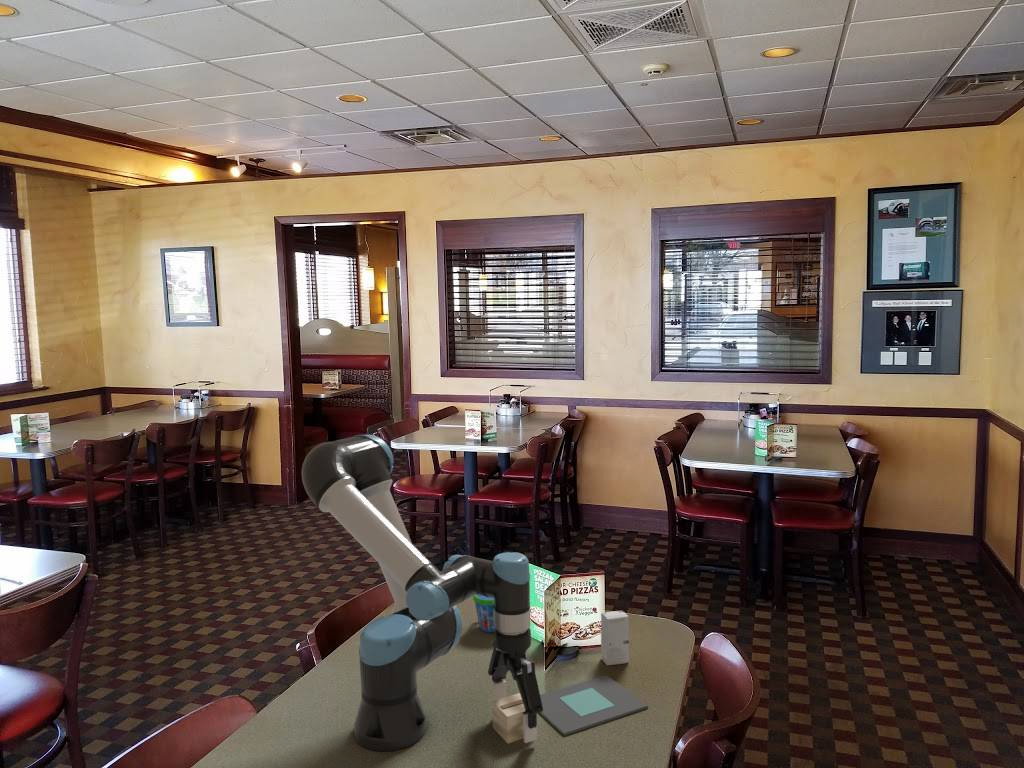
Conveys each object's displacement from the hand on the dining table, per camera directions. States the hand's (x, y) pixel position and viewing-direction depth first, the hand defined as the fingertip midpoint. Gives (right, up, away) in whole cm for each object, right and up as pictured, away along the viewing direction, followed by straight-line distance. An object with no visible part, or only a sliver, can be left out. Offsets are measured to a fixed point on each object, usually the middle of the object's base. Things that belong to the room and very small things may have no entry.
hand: (514, 725), depth 159 cm
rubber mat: (+16, 0, +10) cm, 19 cm away
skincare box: (+25, +2, +31) cm, 40 cm away
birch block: (0, -1, 0) cm, 1 cm away
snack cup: (-6, +4, +51) cm, 52 cm away
